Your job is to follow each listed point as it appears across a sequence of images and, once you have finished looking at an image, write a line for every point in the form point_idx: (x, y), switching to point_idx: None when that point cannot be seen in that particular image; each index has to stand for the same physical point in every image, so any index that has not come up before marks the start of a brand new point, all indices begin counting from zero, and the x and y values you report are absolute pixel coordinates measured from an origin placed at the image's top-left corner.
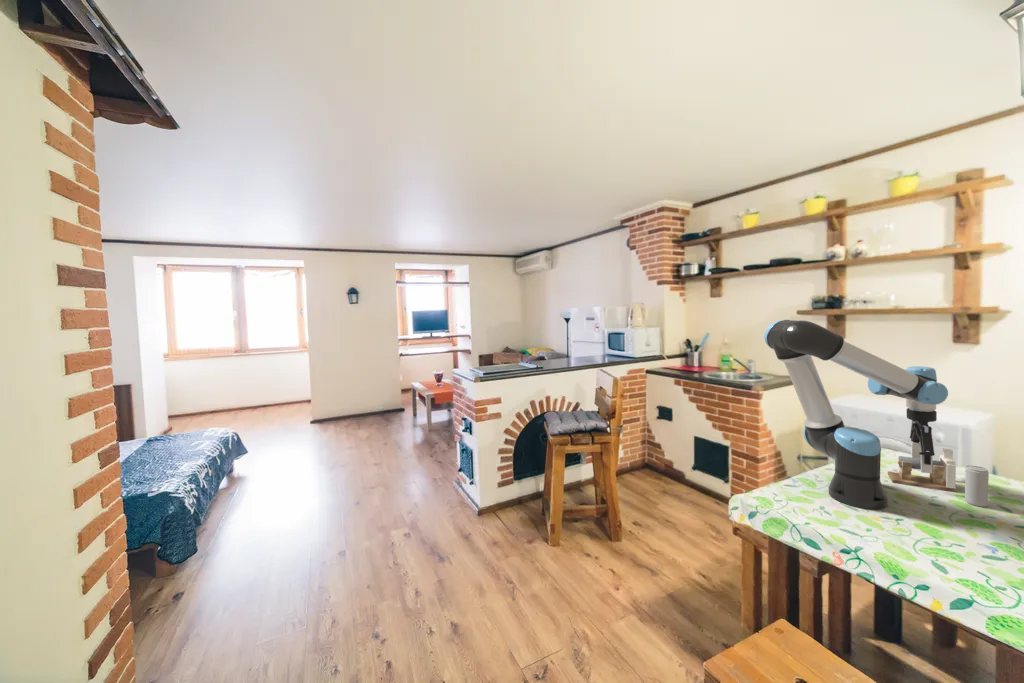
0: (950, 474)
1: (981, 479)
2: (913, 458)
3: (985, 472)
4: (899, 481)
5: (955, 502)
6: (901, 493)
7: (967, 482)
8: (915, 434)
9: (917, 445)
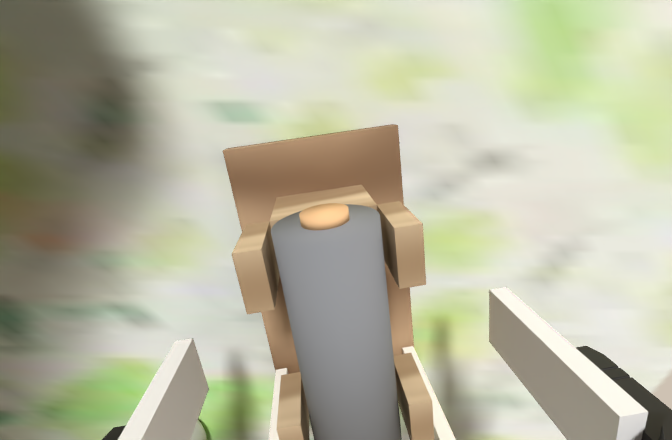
0: None
1: None
2: (329, 338)
3: None
4: (231, 185)
5: (126, 379)
6: (50, 191)
7: None
8: None
9: (587, 431)
